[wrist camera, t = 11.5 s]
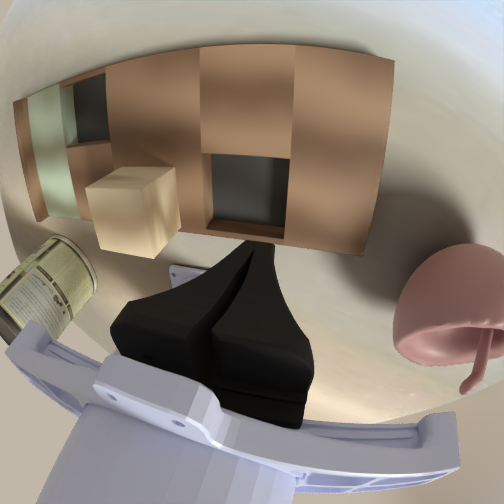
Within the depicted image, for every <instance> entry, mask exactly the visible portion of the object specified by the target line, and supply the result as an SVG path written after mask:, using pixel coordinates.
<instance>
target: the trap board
mask: <svg viewBox="0 0 504 504" xmlns="http://www.w3.org/2000/svg"><path fill="white" fill-rule="evenodd" d="M394 62H395V61H394V60H390V59H386V58H382V57H378V56H373V55H368V54H363V53H357V52H352V51H345V50H339V49H331V48H323V47H313V46H301V45H283V44H240V45H222V46H210V47H200V48H191V49H184V50H177V51H171V52H165V53H160V54H154V55H150V56H145V57H140V58H136V59H132V60H128V61H124V62H120V63H116V64H113V65H109V66H106V67H103V68H99V69H96V70H93V71H90V72H87V73H84V74H81V75H79V76H76V77H73V78H71V79H68V80H65V81H63V82H60V83H58V84H56V85H53V86H51V87H49V88H46V89H44V90H42V91H40V92H37V93H35V94H33V95H31V96H29V97H27V98H24V99H20V100H17V101H15V102H13V107H14V117H15V126H16V134H17V141H18V147H19V153H20V158H21V163H22V168H23V173H24V177H25V181H26V186H27V190H28V193H29V197H30V201H31V204H32V208H33V211H34V215H35V218H36V221H37V222H42V221H43V220H44V219H46V218H47V217H48V216H53V217H62V218H71V219H79V220H88V221H93V220H92V216H91V212H90V208H89V204H88V199H87V195H86V190H85V188H86V187H88V186H89V185H91V184H93V183H94V182H96V181H98V180H99V179H101V178H103V177H105V176H106V175H108V174H110V173H112V172H113V171H115V170H117V169H119V168H121V167H175V172H176V184H177V194H178V204H179V213H180V221H181V228H180V229H179V230H178V231H179V232H187V233H195V234H203V235H211V236H218V237H226V238H234V239H241V240H252V241H260V242H267V243H273V244H278V245H285V246H293V247H300V248H307V249H314V250H321V251H328V252H335V253H342V254H349V255H356V256H363V253H364V249H365V245H366V241H367V237H368V233H369V229H370V225H371V221H372V217H373V213H374V208H375V204H376V199H377V194H378V189H379V184H380V179H381V174H382V168H383V162H384V156H385V150H386V144H387V137H388V129H389V122H390V113H391V104H392V93H393V80H394Z"/></svg>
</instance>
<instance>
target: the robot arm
mask: <svg viewBox="0 0 504 504" xmlns="http://www.w3.org/2000/svg"><path fill="white" fill-rule="evenodd" d="M274 254H275V245H274V244H273V243H267V242H260V241H252V240H246V241H244V242H243V243H242V244H241V245H239V246H238V247H237V248H236V249H235V250H234V251H232V252H231V253H230V254H229V255H228V256H226V257H225V258H224V259H222V260H221V261H220V262H219V263H217V264H216V265H214V266H213V267H212V268H210V269H209V270H201V269H195V268H189V267H183V266H177V265H171V266H170V267H169V274H170V279H171V284H172V289H170V290H168V291H165V292H162V293H159V294H156V295H153V296H150V297H146V298H142V299H138V300H134V301H129V302H128V303H127V304H126V306H125V307H124V308H123V309H122V311H121V312H120V314H119V315H118V316H117V318H116V319H115V320H114V322H113V323H112V325H111V327H110V333H111V336H112V339H113V341H114V343H115V345H116V347H117V349H116V350H115V352H114V353H113V354H110V355H109V356H107V357H106V359H105V360H104V362H103V363H100V362H98V361H95V360H93V359H91V358H89V357H87V356H85V355H83V354H81V353H79V352H77V351H75V350H72V349H71V348H69V347H67V346H65V345H63V344H61V343H59V342H58V341H56V340H54V339H52V336H51V335H50V333H49V332H48V330H47V329H46V328H45V327H44V326H42V325H41V324H39V323H37V322H35V321H34V320H30V321H29V322H28V323H27V325H26V326H25V327H24V328H23V329H22V331H21V332H20V333H19V334H18V336H17V337H16V338H15V339H14V341H13V342H12V343H11V345H10V346H9V347H8V349H7V350H6V351H5V354H6V355H7V357H8V358H9V359H10V360H11V361H12V363H13V364H14V365H15V366H16V367H17V368H18V370H19V371H20V372H21V373H22V374H23V375H24V376H25V377H26V378H27V380H28V381H29V382H30V383H32V384H33V385H34V386H35V387H37V388H38V389H39V390H41V391H42V392H43V393H45V394H46V395H47V396H48V397H50V398H51V399H53V400H54V401H55V402H57V403H58V404H59V405H61V406H62V407H64V408H65V409H67V410H68V411H69V412H71V413H72V414H74V415H75V416H77V417H78V418H79V419H78V421H77V423H76V425H75V427H74V428H73V430H72V432H71V434H70V435H69V437H68V439H67V441H66V443H65V445H64V447H63V449H62V451H61V452H60V454H59V456H58V458H57V460H56V463H55V464H54V466H53V468H52V470H51V472H50V474H49V477H48V478H47V481H46V483H45V485H44V487H43V489H42V491H41V493H40V496H39V498H38V500H37V502H36V504H292V499H293V496H294V492H300V493H354V492H368V491H379V490H388V489H396V488H403V487H410V486H417V485H423V484H426V483H429V482H431V481H433V480H436V479H438V478H440V477H443V476H445V475H447V474H449V473H451V472H453V471H456V470H458V469H459V468H460V453H459V452H460V451H459V440H458V430H457V421H456V414H455V412H443V413H433V414H429V415H427V416H425V417H423V418H422V419H421V420H420V421H419V422H418V423H411V424H410V423H409V424H354V423H336V422H324V421H314V420H305V419H303V416H304V409H305V404H306V401H307V395H308V390H309V388H310V385H311V383H312V380H313V377H314V360H313V354H312V350H311V346H310V342H309V339H308V338H307V337H306V335H305V334H304V333H303V331H302V330H301V329H300V327H299V326H298V324H297V323H296V321H295V319H294V318H293V316H292V314H291V312H290V310H289V308H288V306H287V304H286V302H285V300H284V298H283V295H282V292H281V290H280V287H279V283H278V280H277V276H276V271H275V266H274ZM174 273H175V274H176V275H175V274H174Z"/></svg>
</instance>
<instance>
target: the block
mask: <svg viewBox="0 0 504 504" xmlns="http://www.w3.org/2000/svg"><path fill="white" fill-rule="evenodd" d="M85 190H86V195H87V199H88V204H89V208H90V212H91V216H92V220H93V224H94V228H95V231H96V235H97V238H98V242H99V245H100V249H103V250H108V251H113V252H119V253H124V254H129V255H135V256H140V257H146V258H151V259H154V258H155V257H156V256H157V255H158V253H159V252H160V251H161V250H162V249H163V248H164V246H165V245H166V244H167V243H168V242H169V241H170V239H171V238H172V237H173V236H174V235H175V234H176V233H177V231H178V230H179V229H180V228H181V221H180V213H179V204H178V194H177V184H176V172H175V167H121V168H119V169H117V170H115V171H113V172H112V173H110V174H108V175H106V176H105V177H103V178H101V179H99V180H98V181H96V182H94V183H93V184H91V185H89V186H88V187H86V188H85Z"/></svg>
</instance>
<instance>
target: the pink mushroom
mask: <svg viewBox="0 0 504 504" xmlns="http://www.w3.org/2000/svg"><path fill="white" fill-rule="evenodd" d="M393 342H394V346H395V348H396V350H397V351H398V353H400V354H401V355H402V356H403V357H405V358H406V359H408V360H410V361H412V362H414V363H416V364H420V365H423V366H448V365H455V364H464V363H470V362H474V366H473V370H472V373H471V375H470V376H469V377H468V378H467V379H466V380H464V381H463V382H462V384H461V386H460V389H459V392H460V394H461V395H466V394H468V393H469V392H470V391H471V390H472V389H473V388H474V387H477V386H478V385H480V384H481V382H482V380H483V377H484V373H485V370H486V365H487V361H488V359H494V358H500V357H502V356H504V255H502V254H501V253H499V252H498V251H496V250H494V249H492V248H489V247H487V246H483V245H479V244H470V243H469V244H458V245H453V246H450V247H447V248H445V249H442V250H440V251H438V252H436V253H435V254H433V255H432V256H430V257H429V258H427V259H426V260H425V261H424V262H423V263H422V264H421V265H420V266H419V267H418V268H417V269H416V270H415V271H414V272H413V274H412V275H411V276H410V278H409V279H408V281H407V282H406V284H405V286H404V288H403V290H402V292H401V294H400V297H399V300H398V303H397V306H396V310H395V315H394V321H393Z"/></svg>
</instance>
